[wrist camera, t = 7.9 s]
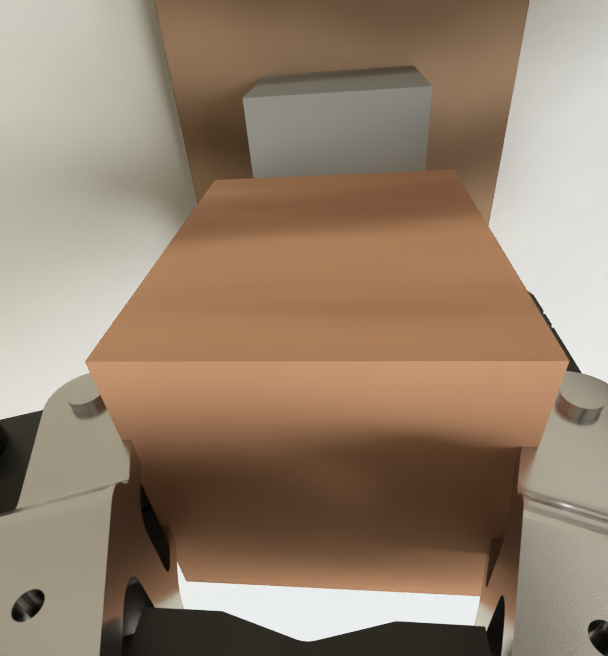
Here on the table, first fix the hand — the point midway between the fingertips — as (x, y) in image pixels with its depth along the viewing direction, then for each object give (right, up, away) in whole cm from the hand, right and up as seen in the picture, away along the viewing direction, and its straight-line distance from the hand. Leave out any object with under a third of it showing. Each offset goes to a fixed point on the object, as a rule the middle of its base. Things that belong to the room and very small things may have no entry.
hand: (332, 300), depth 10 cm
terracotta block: (0, +1, +1) cm, 1 cm away
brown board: (+1, +8, +11) cm, 14 cm away
